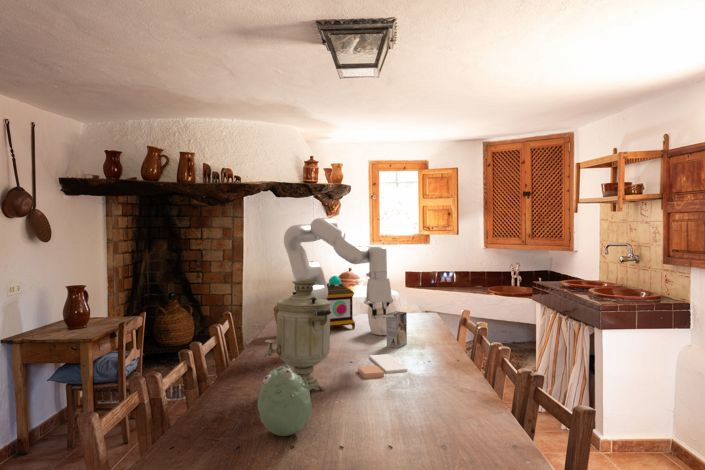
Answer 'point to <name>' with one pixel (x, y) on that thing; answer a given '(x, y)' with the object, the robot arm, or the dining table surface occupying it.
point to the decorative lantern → (340, 303)
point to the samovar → (302, 331)
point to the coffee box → (396, 329)
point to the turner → (380, 314)
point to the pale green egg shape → (284, 401)
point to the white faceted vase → (380, 319)
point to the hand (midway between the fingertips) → (379, 317)
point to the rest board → (387, 363)
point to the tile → (370, 371)
